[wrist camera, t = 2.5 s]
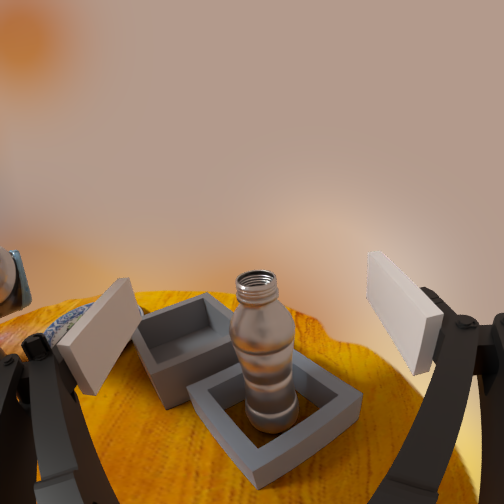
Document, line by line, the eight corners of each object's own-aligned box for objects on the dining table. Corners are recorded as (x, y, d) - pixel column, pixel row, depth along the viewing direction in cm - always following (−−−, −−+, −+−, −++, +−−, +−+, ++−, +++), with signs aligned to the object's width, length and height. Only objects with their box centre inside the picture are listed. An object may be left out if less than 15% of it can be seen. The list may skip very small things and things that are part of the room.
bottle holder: (195, 411, 35) (186, 386, 33) (283, 366, 42) (281, 340, 41) (257, 490, 23) (252, 471, 21) (358, 419, 30) (363, 393, 29)
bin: (137, 353, 48) (125, 321, 46) (213, 323, 56) (207, 292, 54) (166, 410, 35) (150, 374, 33) (261, 365, 43) (255, 329, 41)
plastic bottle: (263, 448, 29) (237, 305, 22) (239, 412, 34) (209, 275, 28) (310, 425, 31) (308, 280, 24) (282, 394, 37) (269, 258, 30)
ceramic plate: (169, 331, 55) (165, 319, 54) (57, 392, 38) (49, 379, 37) (118, 297, 72) (115, 287, 71) (35, 335, 55) (31, 325, 54)
